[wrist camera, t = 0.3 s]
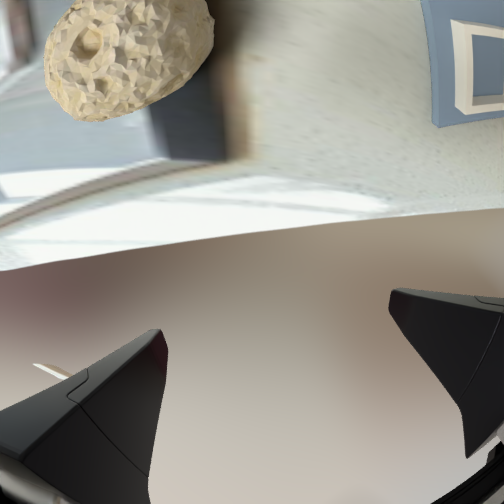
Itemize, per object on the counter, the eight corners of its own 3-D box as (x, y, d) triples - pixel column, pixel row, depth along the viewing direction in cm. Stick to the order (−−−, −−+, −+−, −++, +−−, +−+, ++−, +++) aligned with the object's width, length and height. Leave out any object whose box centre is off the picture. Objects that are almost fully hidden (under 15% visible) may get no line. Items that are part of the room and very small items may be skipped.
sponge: (99, 20, 12) (14, 118, 10) (144, -71, 5) (-7, 22, 3) (189, 70, 18) (125, 175, 16) (270, 1, 10) (187, 117, 8)
